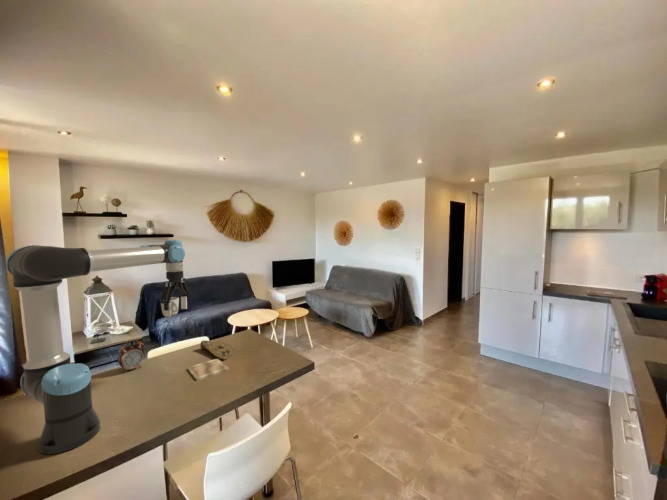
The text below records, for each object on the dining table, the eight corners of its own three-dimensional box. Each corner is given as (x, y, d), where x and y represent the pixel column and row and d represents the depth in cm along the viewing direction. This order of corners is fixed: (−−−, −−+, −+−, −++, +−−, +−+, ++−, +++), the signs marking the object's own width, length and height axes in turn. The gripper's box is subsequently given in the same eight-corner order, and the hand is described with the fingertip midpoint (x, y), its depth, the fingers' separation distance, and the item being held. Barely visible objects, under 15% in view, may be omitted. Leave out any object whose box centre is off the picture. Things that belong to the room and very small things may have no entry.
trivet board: (196, 381, 130) (196, 378, 130) (187, 369, 142) (187, 367, 141) (228, 370, 141) (228, 368, 140) (217, 360, 152) (217, 358, 152)
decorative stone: (198, 348, 165) (200, 340, 165) (223, 344, 176) (224, 336, 176) (217, 367, 148) (219, 358, 148) (243, 360, 160) (245, 352, 159)
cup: (185, 314, 139) (185, 298, 138) (169, 319, 132) (168, 302, 132) (174, 311, 145) (173, 296, 144) (157, 315, 138) (157, 299, 137)
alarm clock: (121, 375, 136) (119, 345, 135) (117, 372, 139) (115, 342, 138) (146, 366, 145) (144, 338, 144) (142, 363, 148) (141, 336, 147)
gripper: (166, 274, 128) (168, 320, 129) (195, 267, 153) (196, 306, 154) (150, 274, 128) (152, 320, 130) (182, 267, 153) (183, 305, 155)
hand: (176, 312), depth 142 cm, fingers open, 13 cm apart
